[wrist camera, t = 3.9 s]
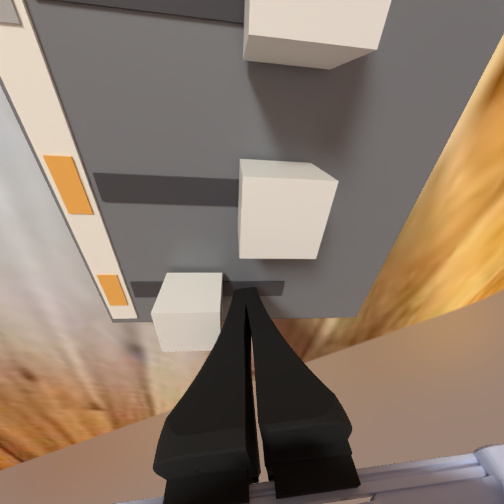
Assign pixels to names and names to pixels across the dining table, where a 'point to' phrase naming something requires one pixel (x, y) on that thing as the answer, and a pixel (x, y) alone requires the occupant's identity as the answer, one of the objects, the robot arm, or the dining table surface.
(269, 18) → the near tab
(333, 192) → the middle tab
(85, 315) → the dining table surface
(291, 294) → the panel
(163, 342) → the far tab
